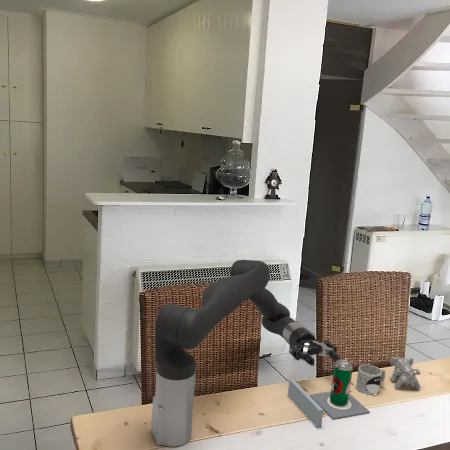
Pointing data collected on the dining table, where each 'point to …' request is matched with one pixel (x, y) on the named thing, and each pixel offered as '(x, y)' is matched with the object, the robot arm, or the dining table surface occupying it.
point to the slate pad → (339, 411)
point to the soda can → (341, 382)
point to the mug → (369, 379)
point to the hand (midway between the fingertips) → (325, 361)
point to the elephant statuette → (404, 372)
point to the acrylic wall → (305, 403)
